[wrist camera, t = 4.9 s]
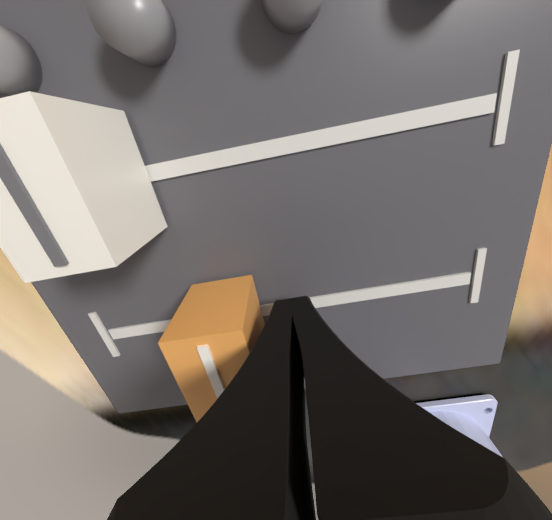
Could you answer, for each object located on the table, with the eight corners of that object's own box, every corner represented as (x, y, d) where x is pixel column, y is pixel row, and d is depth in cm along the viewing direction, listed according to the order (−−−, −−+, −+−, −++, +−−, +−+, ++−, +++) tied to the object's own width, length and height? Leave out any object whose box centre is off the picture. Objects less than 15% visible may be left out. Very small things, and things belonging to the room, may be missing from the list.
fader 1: (167, 226, 9) (113, 268, 6) (103, 238, 9) (20, 285, 6) (124, 110, 8) (25, 90, 5) (48, 127, 8) (-94, 118, 5)
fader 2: (270, 346, 11) (268, 419, 8) (217, 353, 11) (197, 428, 8) (252, 274, 10) (241, 332, 7) (191, 284, 10) (156, 345, 7)
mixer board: (470, 334, 14) (522, 385, 11) (137, 381, 15) (104, 437, 12) (540, -103, 7) (716, -267, 4) (-54, 49, 9) (-218, 4, 6)
